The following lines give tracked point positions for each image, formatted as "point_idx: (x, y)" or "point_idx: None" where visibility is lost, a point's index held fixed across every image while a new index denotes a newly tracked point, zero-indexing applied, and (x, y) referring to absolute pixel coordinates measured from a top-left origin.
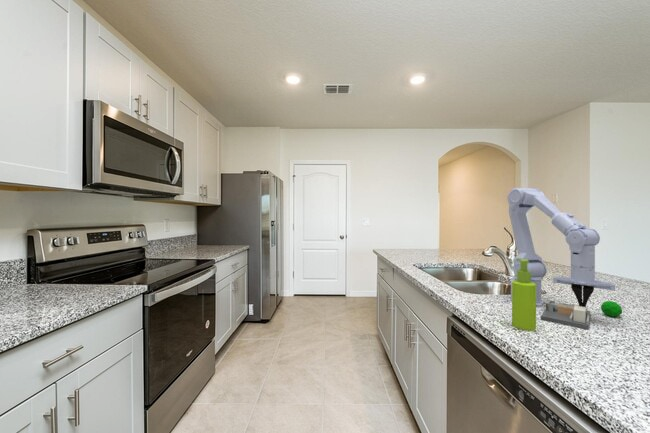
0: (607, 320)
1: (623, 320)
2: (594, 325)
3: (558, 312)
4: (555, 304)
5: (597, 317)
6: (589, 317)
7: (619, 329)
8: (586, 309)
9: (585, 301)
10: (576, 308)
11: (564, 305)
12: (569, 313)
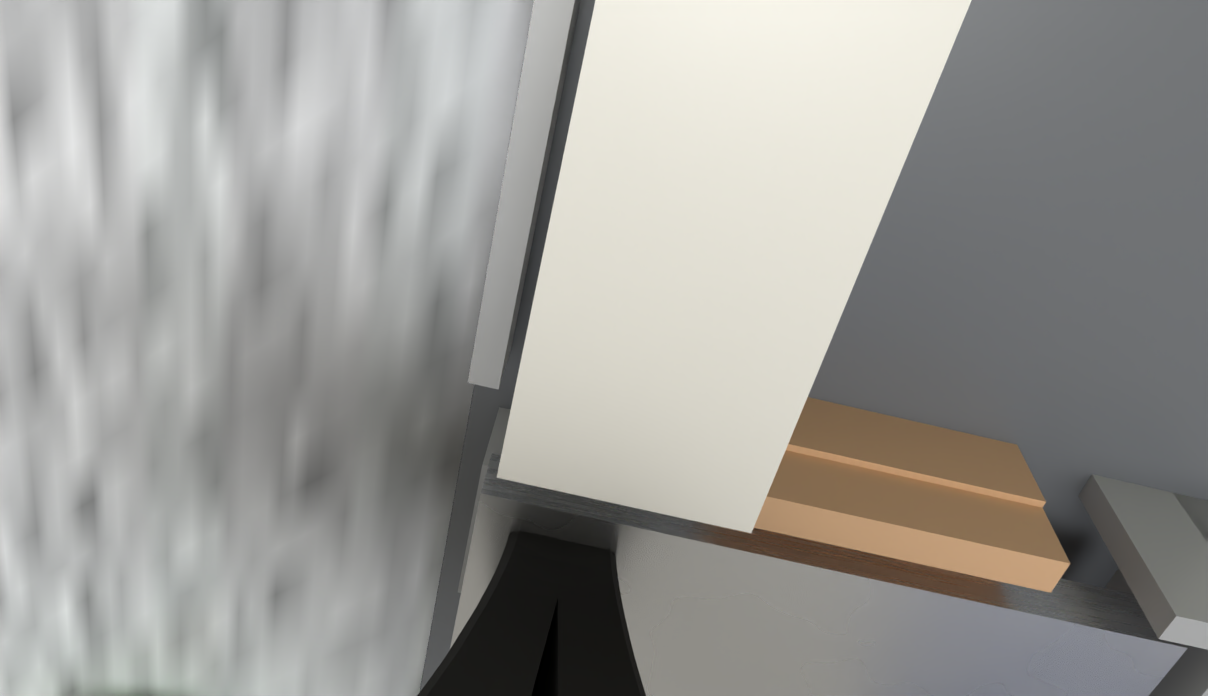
0: (222, 564)
1: (43, 653)
2: (431, 161)
3: (1011, 448)
4: (1058, 677)
5: (341, 641)
6: (460, 472)
7: (51, 143)
8: (478, 581)
9: (466, 691)
10: (822, 176)
11: (869, 681)
12: (821, 421)
